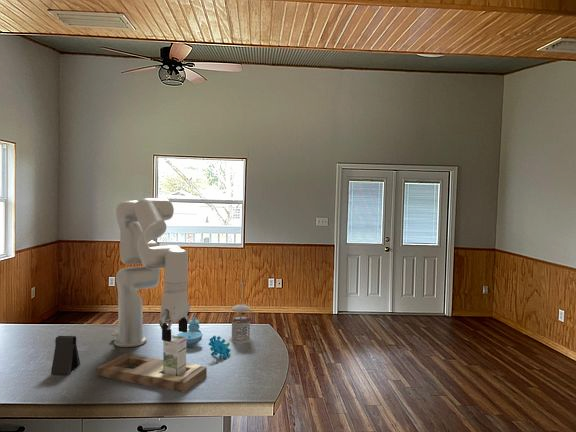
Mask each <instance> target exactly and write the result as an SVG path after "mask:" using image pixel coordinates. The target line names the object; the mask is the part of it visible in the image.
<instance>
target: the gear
mask: <svg viewBox="0 0 576 432" xmlns="http://www.w3.org/2000/svg"><path fill="white" fill-rule="evenodd" d="M208 340H209V343H208V346H210V348H209V349H210V351H211V353H210V355H211V356H215V357H216V356H218V354H219V356H218V358H219V359H222V358H223V359H224V360H225V359H228V357H230V355H231V353H230V352H231V348H229V347H230V345H231V342H230V341H229V342H227V343H226V340H225V338H223V339H222V337H221V336H220V335H218V336H216V335H213V336H212V337H210V338H209V339H208Z"/></svg>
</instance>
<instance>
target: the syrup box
mask: <svg viewBox="0 0 576 432" xmlns="http://www.w3.org/2000/svg"><path fill="white" fill-rule="evenodd" d="M162 341H163V340H162ZM162 343H163V344H162V345H163V347H162V349H163V350H162V351H163V354H162V355H163V359H162V360H163V374H167V375H173V376H181V375H182V374H183V373H185V372H186V363H187V346H186V337H183V336H177V334H176V335H174V334H171V341H170V342H168V341H163V342H162Z"/></svg>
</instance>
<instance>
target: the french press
mask: <svg viewBox="0 0 576 432" xmlns="http://www.w3.org/2000/svg"><path fill="white" fill-rule="evenodd" d="M239 286H240V298H242V295H243V294H242V293H243V292H242V291H243V290H242V286H245V285H244V282H240V283H239ZM231 310H232V311H234V312H235V313H236V312H239V313H242V312H243V313H244V312H247V314H250V317H251V318H250V317H249V316H248V315H244V314H243V315H242V314H240V315H234V316H233V317H232V320H231V337H230V338H229V340H228V341H229V343H234V344H246V343H249V342H250V343H251V342H252V341H253V339H252V338H251V335H250V333H251V332H250V329H251V327H252V326H253V324H254V321H255V319H253V316H255V314H254V312H253V311H252V310H251V307H250V306H248V305H246V304H242V303H240V304H236V305H234V306H233V307H231ZM250 319H251V320H250ZM251 323H252V324H251Z"/></svg>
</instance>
